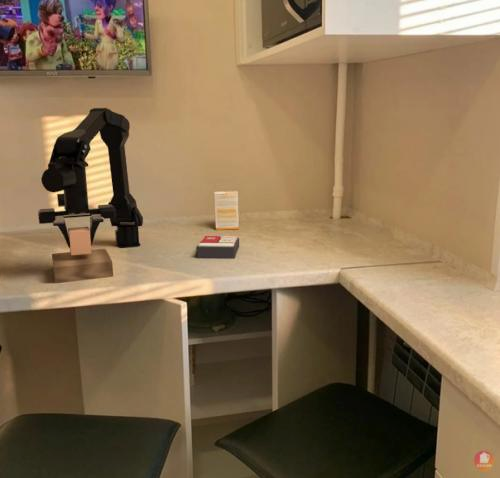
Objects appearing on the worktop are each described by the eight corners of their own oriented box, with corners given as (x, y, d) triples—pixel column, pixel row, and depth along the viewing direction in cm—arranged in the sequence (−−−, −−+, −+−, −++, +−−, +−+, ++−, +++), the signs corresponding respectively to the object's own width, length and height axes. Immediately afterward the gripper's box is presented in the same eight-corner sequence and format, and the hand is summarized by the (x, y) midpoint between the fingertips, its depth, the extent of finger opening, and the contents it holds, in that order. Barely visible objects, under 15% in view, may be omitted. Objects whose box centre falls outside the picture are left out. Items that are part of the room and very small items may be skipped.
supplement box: (238, 226, 197) (237, 190, 194) (238, 229, 192) (238, 192, 189) (215, 227, 197) (214, 190, 194) (215, 230, 192) (214, 192, 189)
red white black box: (239, 235, 170) (234, 244, 155) (239, 248, 171) (234, 259, 156) (204, 234, 171) (195, 244, 156) (204, 248, 172) (196, 258, 157)
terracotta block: (89, 248, 146) (87, 226, 145) (91, 253, 142) (89, 230, 141) (70, 250, 145) (68, 228, 143) (71, 255, 140) (69, 232, 139)
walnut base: (106, 262, 153) (105, 248, 152) (113, 276, 141) (112, 261, 140) (53, 268, 148) (51, 253, 148) (55, 283, 136) (53, 267, 135)
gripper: (108, 180, 150) (112, 236, 154) (35, 184, 143) (41, 242, 147) (114, 185, 140) (118, 245, 143) (35, 190, 133) (42, 252, 137)
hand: (80, 246), depth 143 cm, fingers closed on terracotta block, 5 cm apart
